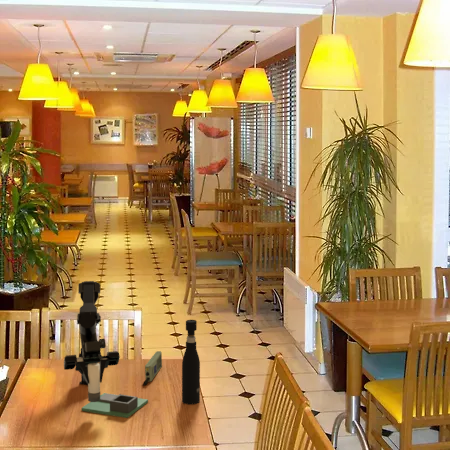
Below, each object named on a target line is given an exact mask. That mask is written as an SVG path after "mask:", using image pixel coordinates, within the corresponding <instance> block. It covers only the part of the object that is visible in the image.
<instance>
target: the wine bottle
mask: <svg viewBox="0 0 450 450" xmlns="http://www.w3.org/2000/svg"><path fill="white" fill-rule="evenodd" d="M197 323H198V322H197V320H196V319H186V320H185V331H187V336H186V341H185V351H184V353H183V357H182V363H181V402H182V404H185V405H192V406H193V405H197V404H199V403H200V401H201V397H200V396H201V392H200V391H201V386H200V385H201V379H200V378H201V363H200V362H201V361H200V356H199V354H198V353H199V352H198V350H197V341H196V336H195V335H196V333H195V332H196V331H197V326H198V324H197Z"/></svg>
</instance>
